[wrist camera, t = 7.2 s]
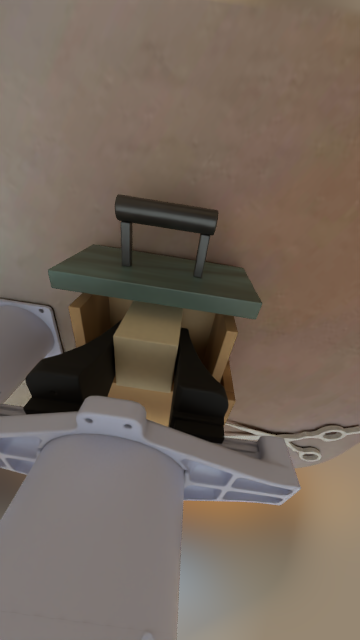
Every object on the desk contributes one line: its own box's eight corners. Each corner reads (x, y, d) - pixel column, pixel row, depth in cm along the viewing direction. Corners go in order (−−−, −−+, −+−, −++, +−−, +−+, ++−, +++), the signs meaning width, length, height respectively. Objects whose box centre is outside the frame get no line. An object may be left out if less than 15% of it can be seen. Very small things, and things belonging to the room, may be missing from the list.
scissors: (325, 463, 35) (208, 448, 34) (322, 458, 35) (208, 443, 35) (364, 431, 29) (224, 411, 28) (360, 425, 29) (223, 406, 29)
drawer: (87, 185, 15) (27, 184, 10) (260, 213, 15) (294, 227, 10) (104, 358, 25) (79, 405, 19) (209, 374, 25) (212, 425, 20)
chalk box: (134, 339, 18) (115, 385, 14) (135, 296, 16) (112, 335, 12) (176, 346, 18) (170, 393, 14) (183, 303, 16) (178, 346, 12)
